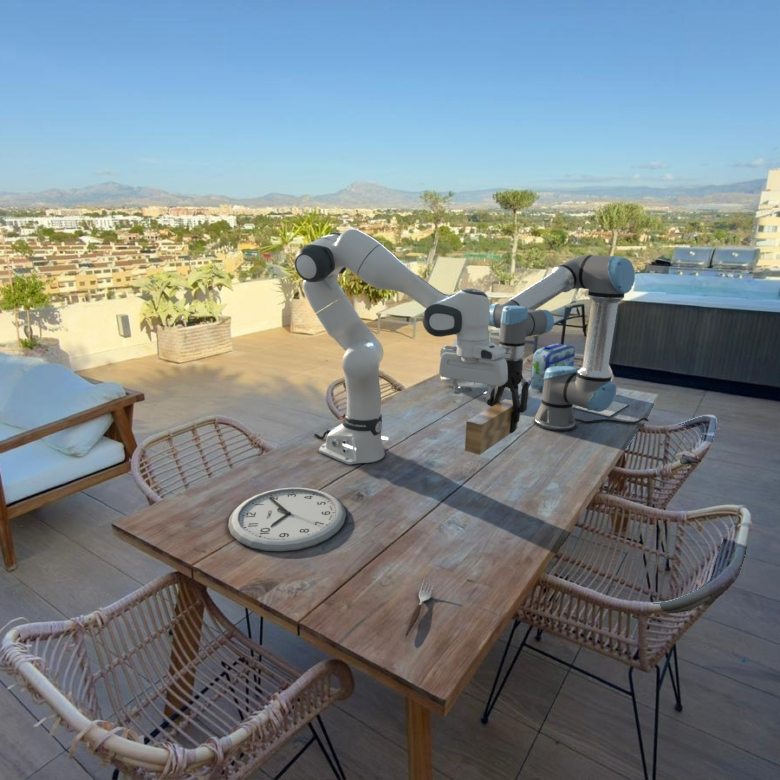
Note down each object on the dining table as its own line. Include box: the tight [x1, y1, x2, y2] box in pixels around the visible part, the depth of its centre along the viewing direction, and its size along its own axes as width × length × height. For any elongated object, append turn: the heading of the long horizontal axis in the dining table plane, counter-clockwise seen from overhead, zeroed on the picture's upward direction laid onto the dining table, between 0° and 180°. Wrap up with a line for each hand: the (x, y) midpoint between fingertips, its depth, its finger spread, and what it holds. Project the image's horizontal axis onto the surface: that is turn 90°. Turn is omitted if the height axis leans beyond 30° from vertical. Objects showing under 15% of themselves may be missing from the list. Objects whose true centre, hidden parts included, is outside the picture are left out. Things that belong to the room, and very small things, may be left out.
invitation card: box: [573, 400, 629, 418], centre depth 226 cm, size 21×1×15 cm
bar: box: [464, 398, 519, 456], centre depth 157 cm, size 26×5×9 cm, turn 143°
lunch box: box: [530, 343, 576, 391], centre depth 249 cm, size 26×11×21 cm, turn 134°
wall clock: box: [227, 487, 347, 552], centre depth 136 cm, size 30×2×30 cm
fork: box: [405, 577, 435, 637], centre depth 104 cm, size 3×16×2 cm, turn 160°
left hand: (471, 396), depth 149 cm, fingers open, 8 cm apart
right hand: (504, 429), depth 165 cm, fingers closed on bar, 5 cm apart
